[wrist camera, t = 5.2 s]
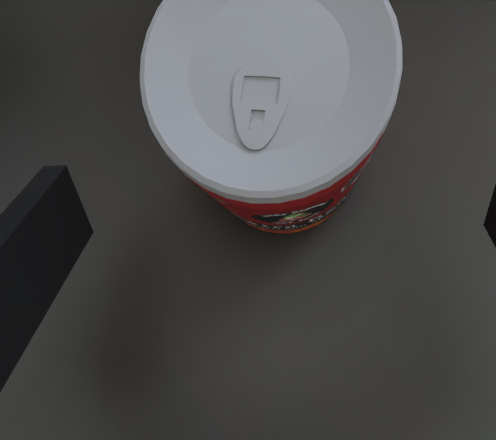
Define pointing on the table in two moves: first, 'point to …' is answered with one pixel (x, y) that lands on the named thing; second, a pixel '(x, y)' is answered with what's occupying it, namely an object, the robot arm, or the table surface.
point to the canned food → (272, 100)
